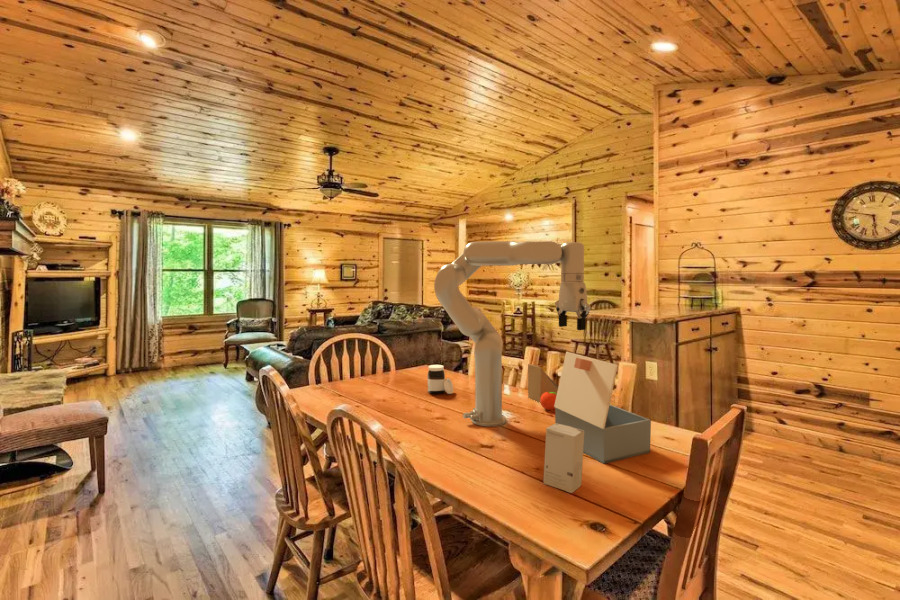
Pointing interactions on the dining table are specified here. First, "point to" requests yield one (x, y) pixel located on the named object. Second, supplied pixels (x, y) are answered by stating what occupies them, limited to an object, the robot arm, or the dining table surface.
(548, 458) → the skincare box
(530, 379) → the sandwich container
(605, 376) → the lid flap
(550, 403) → the tomato
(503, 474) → the dining table surface
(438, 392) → the spread jar
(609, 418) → the carton
